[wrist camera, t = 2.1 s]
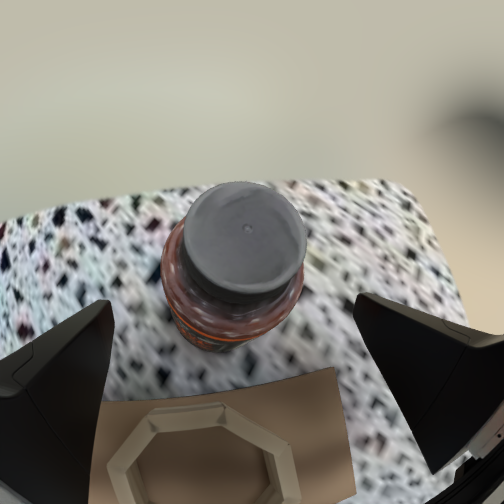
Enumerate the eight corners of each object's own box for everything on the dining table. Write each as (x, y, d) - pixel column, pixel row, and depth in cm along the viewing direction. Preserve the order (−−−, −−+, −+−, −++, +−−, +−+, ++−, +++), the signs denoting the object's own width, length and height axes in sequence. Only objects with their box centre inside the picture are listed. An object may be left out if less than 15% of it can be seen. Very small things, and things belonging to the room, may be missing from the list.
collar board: (350, 490, 14) (378, 505, 10) (90, 527, 9) (74, 549, 5) (327, 367, 18) (356, 363, 15) (50, 399, 13) (21, 401, 10)
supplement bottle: (154, 312, 18) (109, 230, 8) (212, 253, 20) (234, 134, 10) (222, 372, 17) (264, 369, 7) (276, 306, 20) (361, 228, 10)
